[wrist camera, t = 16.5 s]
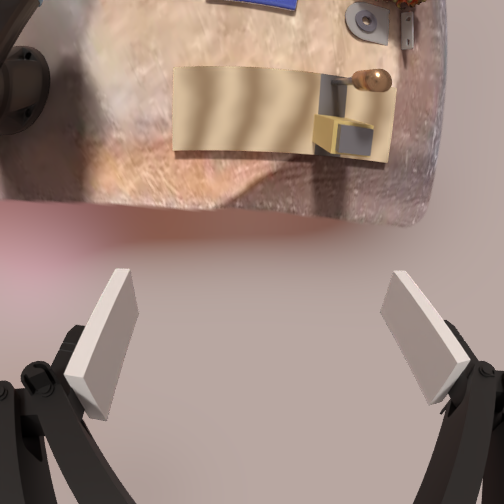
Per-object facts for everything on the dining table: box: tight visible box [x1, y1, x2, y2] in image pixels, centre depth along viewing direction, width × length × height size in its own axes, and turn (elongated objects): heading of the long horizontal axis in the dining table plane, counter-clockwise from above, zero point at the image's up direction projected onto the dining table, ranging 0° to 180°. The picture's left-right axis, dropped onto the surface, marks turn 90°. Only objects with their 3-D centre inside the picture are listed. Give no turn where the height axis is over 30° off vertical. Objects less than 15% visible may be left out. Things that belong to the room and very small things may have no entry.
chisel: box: [331, 69, 392, 92], centre depth 31 cm, size 2×2×15 cm
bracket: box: [345, 2, 414, 50], centre depth 33 cm, size 7×10×4 cm, turn 89°
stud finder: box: [312, 114, 374, 158], centre depth 37 cm, size 5×4×10 cm
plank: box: [172, 66, 397, 163], centre depth 40 cm, size 32×12×1 cm, turn 88°
